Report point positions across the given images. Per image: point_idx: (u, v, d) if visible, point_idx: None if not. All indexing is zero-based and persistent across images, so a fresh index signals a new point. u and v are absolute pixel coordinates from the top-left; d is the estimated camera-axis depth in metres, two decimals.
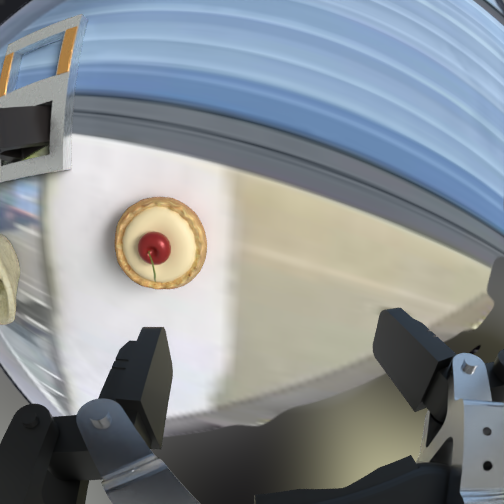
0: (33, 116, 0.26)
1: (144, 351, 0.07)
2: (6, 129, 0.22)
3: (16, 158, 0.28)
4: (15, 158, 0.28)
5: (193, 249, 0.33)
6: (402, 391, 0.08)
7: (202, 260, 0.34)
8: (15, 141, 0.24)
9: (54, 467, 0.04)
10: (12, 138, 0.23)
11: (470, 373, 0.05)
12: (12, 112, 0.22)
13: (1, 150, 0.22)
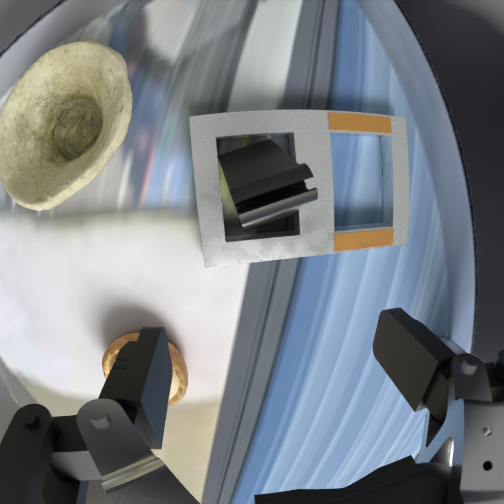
0: (282, 214, 0.28)
1: (144, 351, 0.07)
2: None
3: None
4: None
5: None
6: (402, 391, 0.08)
7: None
8: None
9: (54, 467, 0.04)
10: None
11: (470, 373, 0.05)
12: None
13: (237, 212, 0.22)
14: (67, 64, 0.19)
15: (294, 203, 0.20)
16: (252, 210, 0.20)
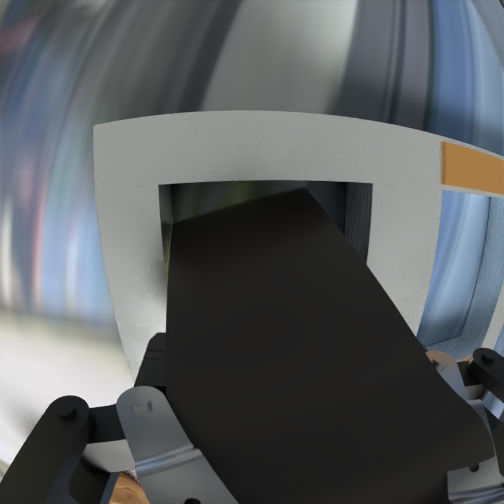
0: None
1: None
2: None
3: None
4: None
5: None
6: None
7: None
8: None
9: (85, 459, 0.04)
10: None
11: (438, 371, 0.06)
12: None
13: None
14: None
15: None
16: None
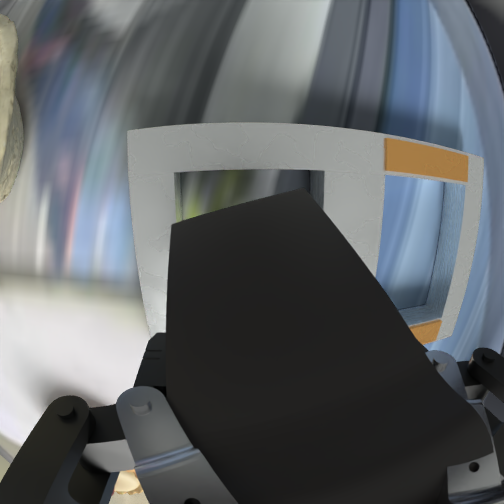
0: None
1: None
2: None
3: None
4: None
5: None
6: None
7: None
8: None
9: (84, 459, 0.04)
10: None
11: (439, 371, 0.06)
12: None
13: None
14: None
15: None
16: None
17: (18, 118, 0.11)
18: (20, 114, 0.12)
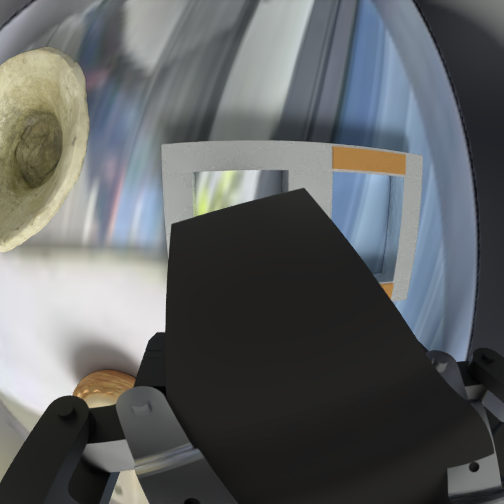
0: None
1: None
2: None
3: None
4: None
5: None
6: None
7: None
8: None
9: (84, 459, 0.04)
10: None
11: (439, 371, 0.06)
12: None
13: None
14: (27, 75, 0.14)
15: None
16: None
17: None
18: None
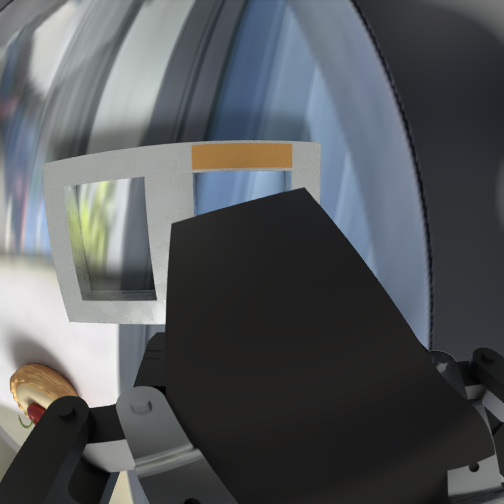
0: None
1: None
2: None
3: None
4: None
5: None
6: None
7: None
8: None
9: (85, 459, 0.04)
10: None
11: (439, 371, 0.06)
12: None
13: None
14: None
15: None
16: None
17: None
18: None
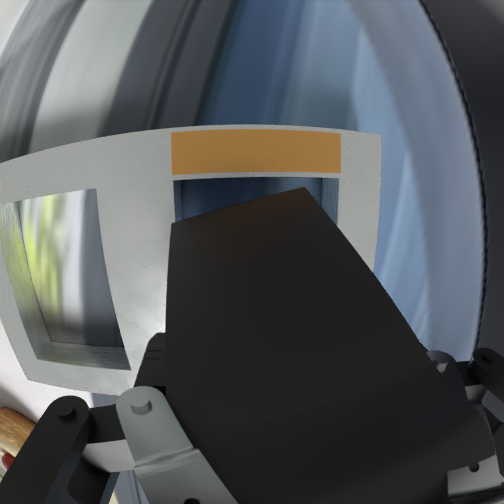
0: None
1: None
2: None
3: None
4: None
5: None
6: None
7: None
8: None
9: (85, 459, 0.04)
10: None
11: (439, 371, 0.06)
12: None
13: None
14: None
15: None
16: None
17: None
18: None
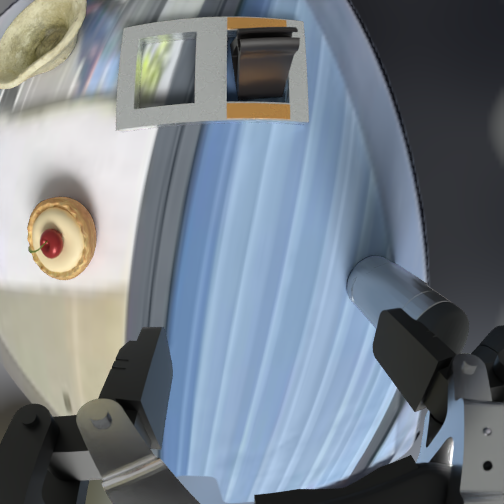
0: (272, 82, 0.30)
1: (144, 351, 0.07)
2: (263, 58, 0.25)
3: (232, 51, 0.29)
4: (232, 50, 0.29)
5: (58, 271, 0.33)
6: (402, 391, 0.08)
7: (53, 277, 0.34)
8: (245, 66, 0.26)
9: (54, 467, 0.04)
10: (250, 63, 0.26)
11: (470, 373, 0.05)
12: (284, 64, 0.26)
13: (238, 51, 0.24)
14: (53, 2, 0.19)
15: (281, 43, 0.22)
16: (251, 38, 0.21)
17: None
18: None
